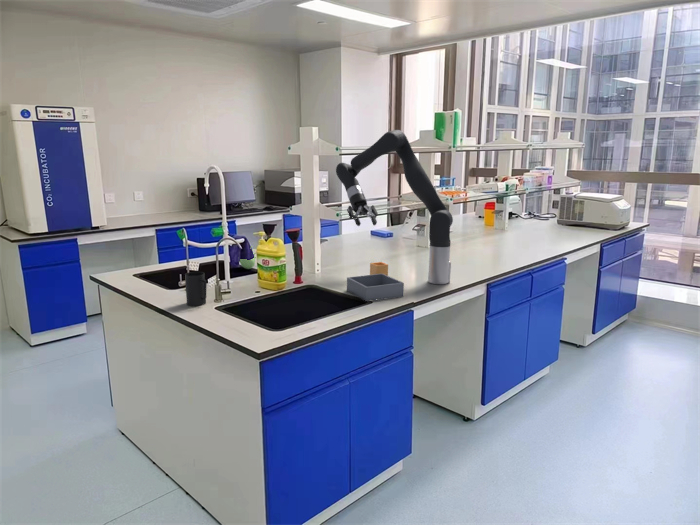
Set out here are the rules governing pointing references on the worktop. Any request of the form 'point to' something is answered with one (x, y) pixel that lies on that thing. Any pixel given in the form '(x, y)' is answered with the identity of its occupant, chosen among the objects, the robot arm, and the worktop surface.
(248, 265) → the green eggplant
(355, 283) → the big crate
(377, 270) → the tan cardboard box
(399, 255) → the worktop surface
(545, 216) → the worktop surface
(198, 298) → the black tapered tumbler
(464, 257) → the worktop surface
